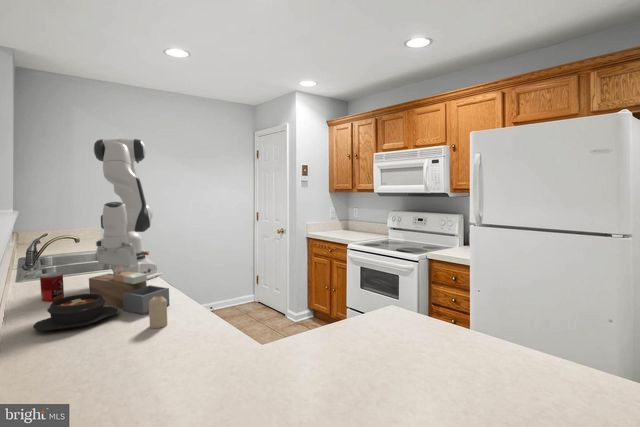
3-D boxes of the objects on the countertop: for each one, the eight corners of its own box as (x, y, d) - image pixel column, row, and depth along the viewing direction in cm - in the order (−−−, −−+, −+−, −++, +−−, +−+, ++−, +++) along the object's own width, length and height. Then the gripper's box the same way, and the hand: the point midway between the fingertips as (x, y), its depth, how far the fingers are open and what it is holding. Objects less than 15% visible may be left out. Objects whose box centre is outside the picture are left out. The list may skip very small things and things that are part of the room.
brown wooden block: (110, 296, 160) (109, 273, 159) (147, 302, 150) (146, 278, 149) (90, 301, 152) (88, 278, 151) (127, 309, 142) (125, 284, 141)
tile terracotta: (127, 277, 152) (126, 271, 152) (137, 278, 149) (136, 272, 149) (113, 280, 147) (113, 274, 146) (123, 282, 144) (123, 276, 144)
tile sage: (137, 278, 149) (136, 272, 149) (147, 280, 147) (146, 274, 146) (123, 282, 144) (123, 276, 144) (133, 284, 141) (133, 277, 141)
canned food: (55, 302, 152) (54, 276, 151) (36, 302, 152) (34, 276, 151) (68, 296, 160) (67, 271, 159) (50, 296, 160) (48, 271, 159)
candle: (146, 327, 124) (144, 297, 123) (160, 321, 129) (158, 293, 128) (157, 329, 121) (156, 300, 121) (171, 324, 126) (169, 295, 126)
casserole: (41, 341, 113) (39, 315, 112) (27, 326, 125) (26, 302, 125) (126, 319, 132) (125, 296, 131) (107, 308, 144) (106, 287, 143)
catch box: (150, 301, 151) (149, 285, 151) (169, 305, 147) (168, 288, 146) (123, 310, 141) (122, 292, 140) (143, 314, 136) (142, 296, 135)
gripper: (140, 242, 147) (141, 276, 148) (107, 240, 156) (109, 272, 157) (125, 245, 141) (127, 280, 142) (93, 241, 150) (94, 275, 151)
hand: (117, 276), depth 150 cm, fingers closed
